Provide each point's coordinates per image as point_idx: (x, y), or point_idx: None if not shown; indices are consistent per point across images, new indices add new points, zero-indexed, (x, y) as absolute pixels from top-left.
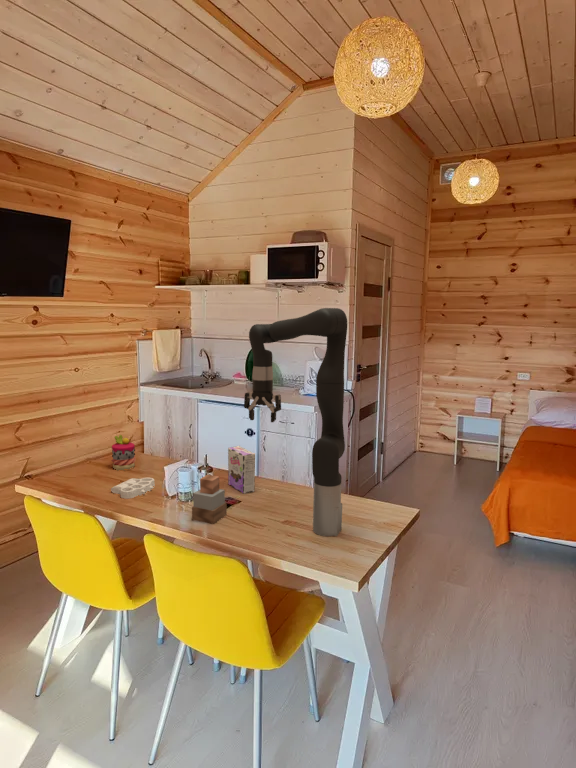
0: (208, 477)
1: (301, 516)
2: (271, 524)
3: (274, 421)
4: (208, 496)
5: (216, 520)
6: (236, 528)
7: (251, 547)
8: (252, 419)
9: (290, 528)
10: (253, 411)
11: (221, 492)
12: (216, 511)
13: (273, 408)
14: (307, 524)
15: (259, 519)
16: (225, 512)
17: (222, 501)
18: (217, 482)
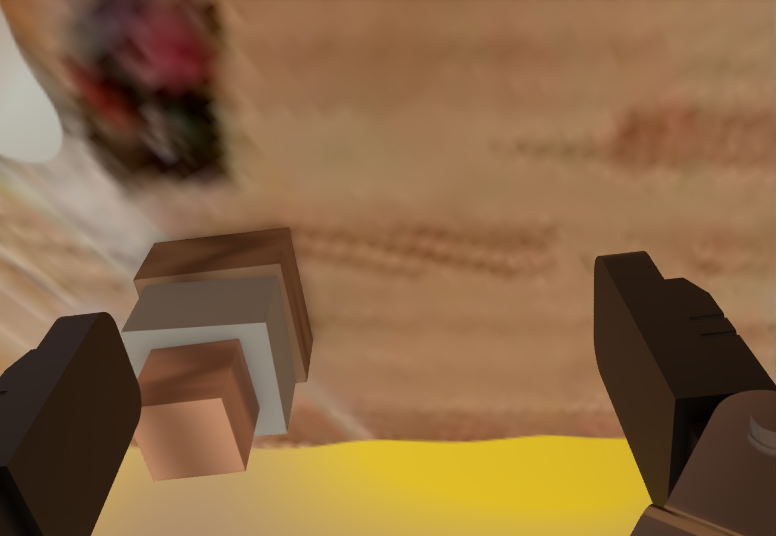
0: (175, 440)
1: (697, 17)
2: (572, 206)
3: (639, 257)
4: (260, 434)
5: (307, 324)
6: (435, 325)
7: (592, 423)
8: (129, 384)
9: (687, 198)
10: (45, 480)
11: (272, 351)
12: (303, 353)
13: (741, 508)
14: (765, 105)
15: (481, 186)
16: (288, 247)
17: (278, 307)
18: (234, 396)
